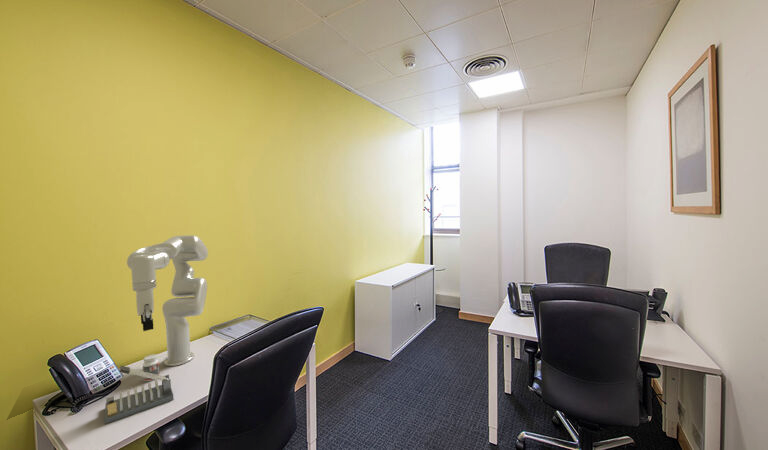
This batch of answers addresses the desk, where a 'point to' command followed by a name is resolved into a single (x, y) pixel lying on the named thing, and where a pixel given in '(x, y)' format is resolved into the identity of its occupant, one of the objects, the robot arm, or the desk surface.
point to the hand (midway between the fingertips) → (147, 326)
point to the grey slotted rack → (138, 401)
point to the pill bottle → (151, 366)
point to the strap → (141, 373)
